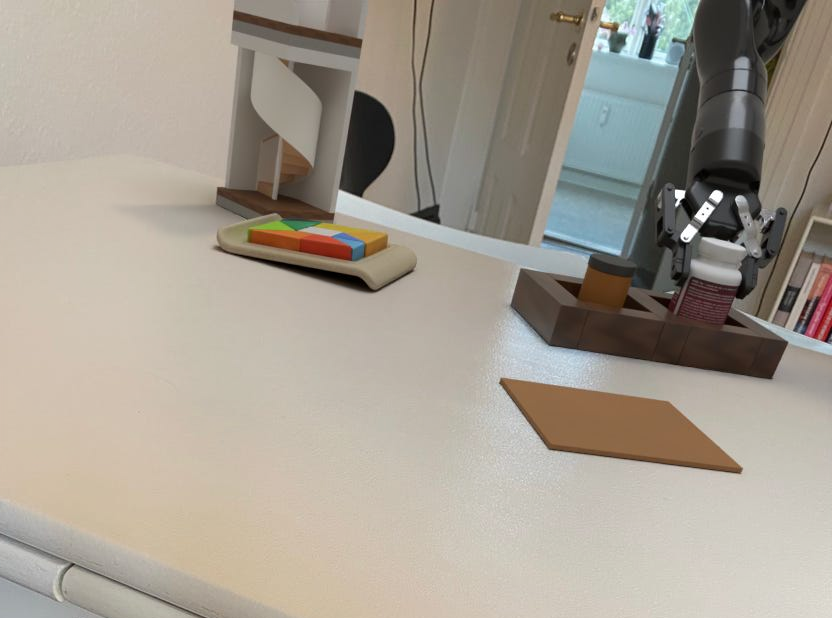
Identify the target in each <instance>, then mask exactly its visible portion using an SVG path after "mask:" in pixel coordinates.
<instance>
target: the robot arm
mask: <svg viewBox="0 0 832 618" xmlns="http://www.w3.org/2000/svg"><path fill="white" fill-rule="evenodd" d="M808 1H809V0H700V1H699V3H698V6H697V8H696V11H695V13H694V19H693V26H692V40H693V48H694V57H695V58H694V59H695V65H696V71H697V76H698V81H699V82H698V83H699V92H698V100H697V109H696V117H695V122H694V125H693V129H692V133H691V141H690V149H689V159H688V165H687V166H688V167H687V175H686V184H685V190H682V189H676V186H675V185H674V184H673V183H671V182H667V183H666V184H665V185H664V186H663V187H662V189H661V190H660V192H659V193H658V195H657V196H656V198H655V200H654V243H655V245H656V247H658V248H665V247H666V249H668V250H669V251H670V253H671V261H670V262H671V263H670V270H669V271H670V272H669V276H670V279H671V280H672V281H674V282H673V286H675V287H676V286H679V287H682V285H683V284H684V283H685V282H686V280H687V279H688V277H689V274H690V265H691V259H692V255H693V245H692V244H690V243H691V241H692V240H693V239H694V237H695V236H696V234H699V237H701V238H703V237H707V238H714V239H719V240H723V241H727V242H731V243H734V244H737V245H740V246H742V247H744V248H745V249H746V251H745V254H744V257H743V259H742V261H741V262H740V263H738V266H739V268H737V269H738V270H739V272H740V273H741V276H742V280H741V283H740V286H739V289H738V291H737V293H736V296H735V298H734V299H736V300H742V301H743V300H744V299H745V298H746V297H747V296H749V295H750V294H751V293H752V292H753V291H754V290H755V289H756V287H757V285H758V278H759V269H761V270H764V269H765V268H767V266H768V265H769V264H770V263H771V262H772V261H773V260H774V259H775V258H776V257H777V255H779V253H780V248H781V244H782V241H783V240H782V239H783V235H784V230H785V226H786V222H787V217H788V210H787V209H786V208H785V207H783V206H780V207H778V208H777V209H776V210H775V211H773V210H771V209H767V208H765V207H763V205H762V203H761V200H760V197H759V193H760V190H761V189H760V187H761V183H762V173H763V164H764V163H763V162H764V152H765V148H766V129H767V126H766V124H767V123H766V103H767V93H768V71H767V67H766V65H767V64H768V63H769V62H770V61H771V60H772V59H773V58H774V57H775V56H776V55H777V54H778V52H779V51H780V50H781V48H782V47H783V46H784V45H785V43H786V42H787V39H789V36H790V35H791V32H792V31H793V29H794V27H795V26H796V23H797V22H798V20H799V17H800V16H801V14H802V12H803V10H804V8H805V7H806V5H807V3H808ZM679 205H680V206H681V208H682V210H683V212H684V213H685V215H686V217H687V219H688V221H689V223H688V224H687V226H686V227H685V228H684V230H683V231H682V232H680V231H679V230H677V216H676V215H677V214H676V213H677V211H676V210H677V208H678V207H679ZM754 221H757V222H758V224H759V231H758V229H757V227H756V224H755V222H754ZM758 233H759V234H761V239H760V243H759V241H758V238H757V235H758ZM739 235H740V236H739Z"/></svg>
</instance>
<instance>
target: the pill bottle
mask: <svg viewBox="0 0 832 618" xmlns="http://www.w3.org/2000/svg"><path fill="white" fill-rule="evenodd" d="M745 251H746V249H745V248H744V247H742V246H740V245H737V244H734V243H731V242H727V241H723V240H719V239H716V238H714V237H701V239H700V241H699V244H698V246H697V248H696V252H697V256H696V257H694V258H691V265H690V274H689V277H688V279H687V280H686V282H685V283H684V284H683V285H682V287H679V286H675V288H674V291H673V293H672V294H673V296H672V299H671V302H670V305H669V307H668V310H670V311H671V312H672V313H674V314H675V315H677V316H678V317H681V318H687V319H693V320H699V321H705V322H711V323H717V324H723V325H724V323H725V321H726V318H727V316H728V313H729V311H730V308H731V307H733V306H732V305H733V303H734V300H735V299H736V298H735V296H736V293H737V291H738V289H739V286H740V283H741V280H742V276H741V273H740V272H739V270H738V269H739V268H738V266H739V263H740V262H741V261H742V259H743V257H744V254H745Z"/></svg>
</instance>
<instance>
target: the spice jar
mask: <svg viewBox="0 0 832 618" xmlns="http://www.w3.org/2000/svg"><path fill="white" fill-rule="evenodd" d="M637 270H638V265H637V264H636V263H635V262H632V261H630V260H628V259H625V258H621V257H619V256H614V255H612V254H611V255H610V254H607V253H606V254H605V253H596V252H595V253H590V255H589V257H588V260H587V267H586V271H585V274H584V277H583V279H584V280H583V283H582V286H581V289H580V292H579V296H578V300H579V301H584V302H590V303H596V304H602V305H608V306H614V307H620V308H623V305H624V302H625V299H626V296H627V293H628V290H629V287H631V284H632V281H633V278H634V277H635V276H636V273H637Z"/></svg>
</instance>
